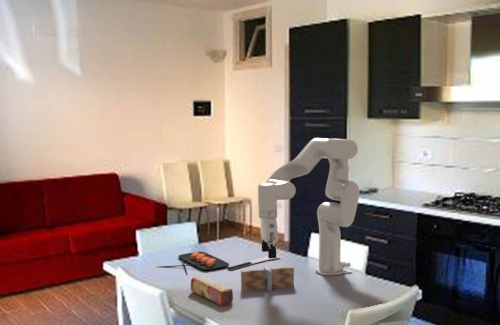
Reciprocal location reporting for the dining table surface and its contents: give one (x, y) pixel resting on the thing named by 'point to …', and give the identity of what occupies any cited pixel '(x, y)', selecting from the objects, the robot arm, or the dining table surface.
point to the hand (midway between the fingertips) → (269, 254)
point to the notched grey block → (268, 278)
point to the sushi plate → (201, 261)
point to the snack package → (212, 290)
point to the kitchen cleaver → (250, 263)
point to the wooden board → (258, 280)
